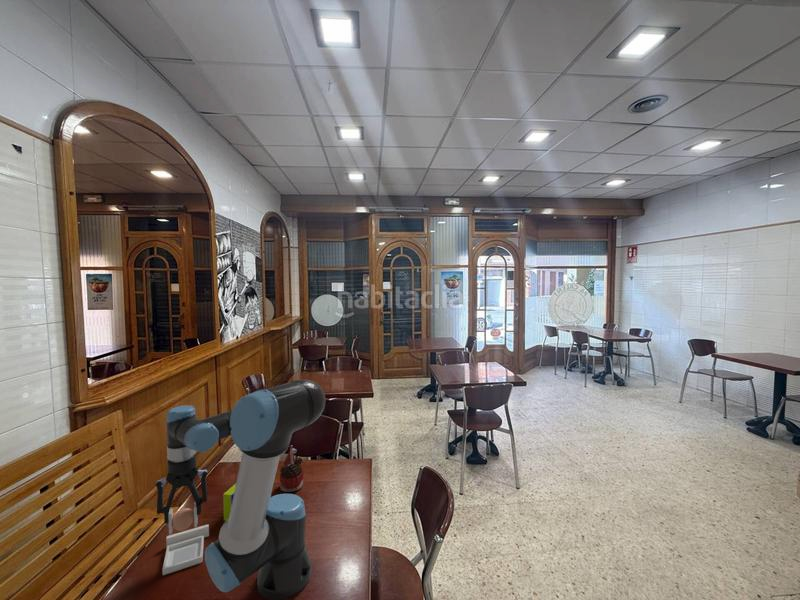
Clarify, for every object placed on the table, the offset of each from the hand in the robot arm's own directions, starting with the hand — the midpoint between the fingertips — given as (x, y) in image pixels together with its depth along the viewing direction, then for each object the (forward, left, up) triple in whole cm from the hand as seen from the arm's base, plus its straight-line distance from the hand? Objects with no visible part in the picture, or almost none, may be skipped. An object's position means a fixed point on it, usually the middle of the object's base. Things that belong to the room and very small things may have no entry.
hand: (183, 527), depth 106 cm
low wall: (+7, -1, -9) cm, 12 cm away
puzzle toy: (+13, -18, -10) cm, 25 cm away
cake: (+22, -37, -10) cm, 44 cm away
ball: (0, 0, 0) cm, 0 cm away
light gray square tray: (0, 0, -9) cm, 9 cm away
